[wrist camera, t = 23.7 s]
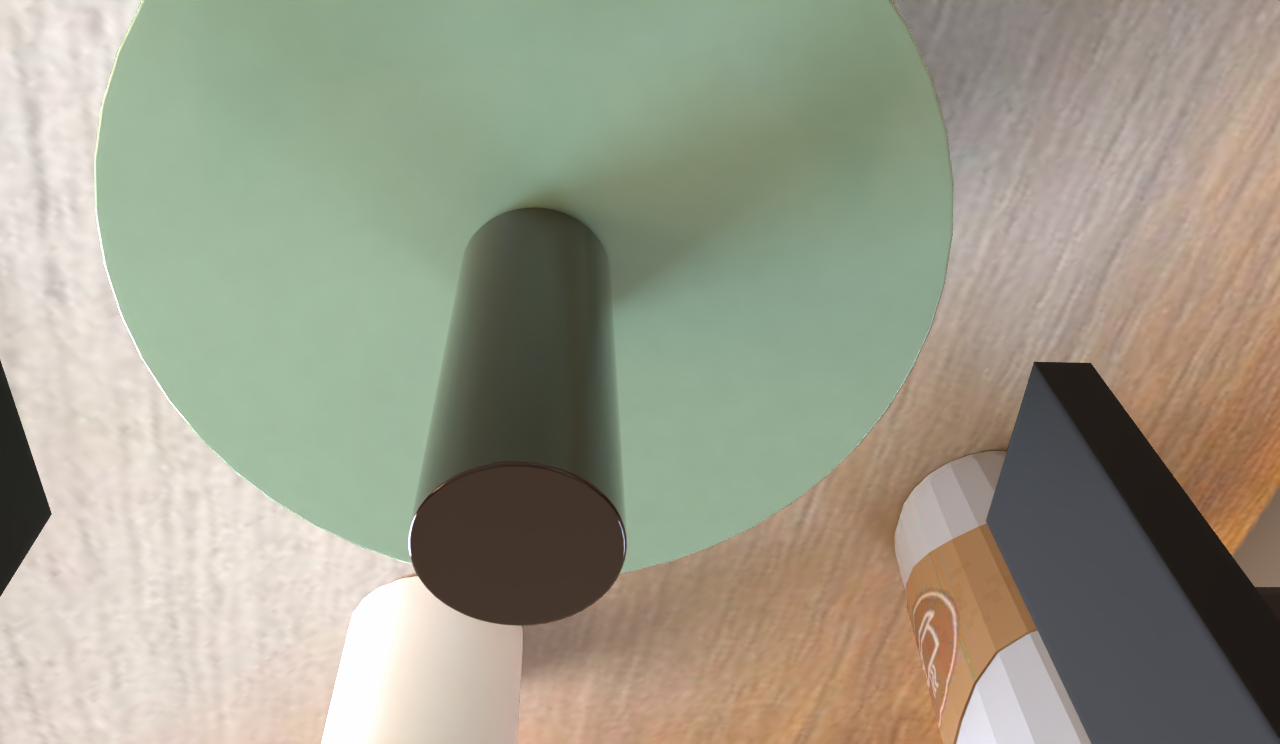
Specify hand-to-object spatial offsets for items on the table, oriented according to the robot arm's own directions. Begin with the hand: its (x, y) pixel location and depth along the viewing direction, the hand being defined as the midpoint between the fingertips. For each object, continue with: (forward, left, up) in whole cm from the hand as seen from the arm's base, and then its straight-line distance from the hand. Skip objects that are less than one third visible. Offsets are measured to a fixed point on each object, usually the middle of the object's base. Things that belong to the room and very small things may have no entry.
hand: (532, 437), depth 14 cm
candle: (+21, -4, -16) cm, 27 cm away
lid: (0, 0, -6) cm, 6 cm away
